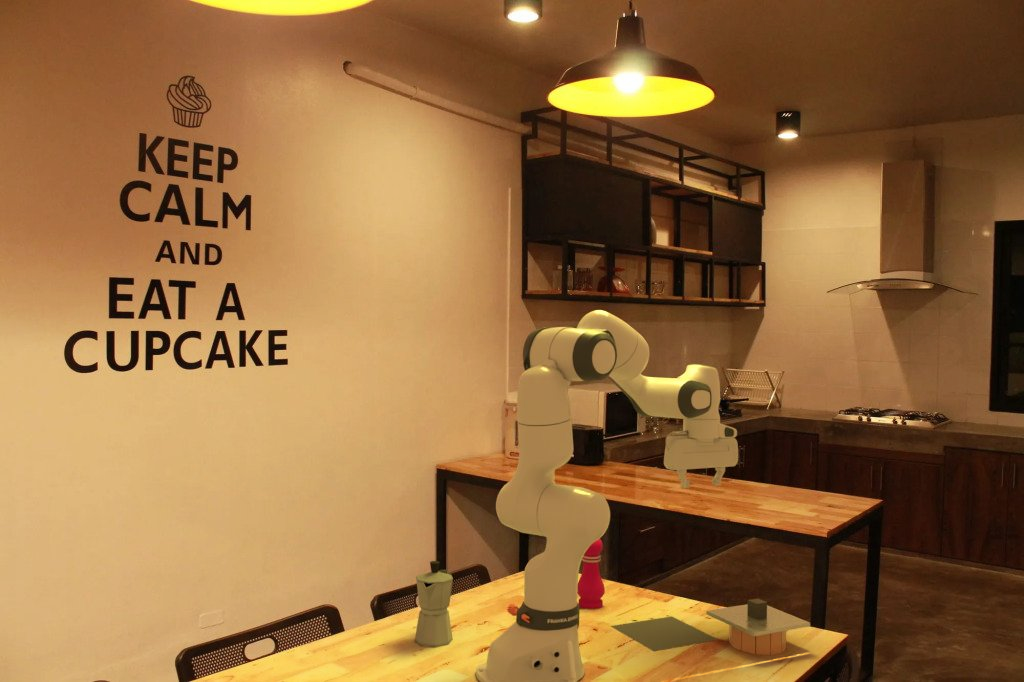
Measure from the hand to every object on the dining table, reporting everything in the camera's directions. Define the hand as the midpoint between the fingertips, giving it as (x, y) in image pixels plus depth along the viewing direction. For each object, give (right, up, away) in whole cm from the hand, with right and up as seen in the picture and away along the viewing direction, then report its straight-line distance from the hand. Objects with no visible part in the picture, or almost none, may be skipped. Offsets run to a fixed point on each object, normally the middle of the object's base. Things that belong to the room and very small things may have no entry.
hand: (700, 486), depth 206 cm
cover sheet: (+9, -28, -16) cm, 33 cm away
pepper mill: (-26, -34, +12) cm, 44 cm away
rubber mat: (-11, -33, -9) cm, 36 cm away
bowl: (+9, -34, -16) cm, 38 cm away
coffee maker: (-64, -33, -13) cm, 73 cm away
